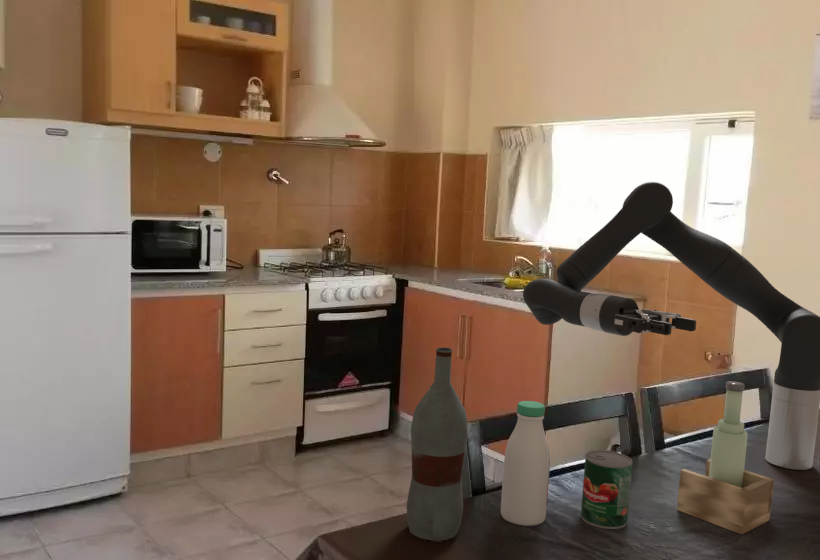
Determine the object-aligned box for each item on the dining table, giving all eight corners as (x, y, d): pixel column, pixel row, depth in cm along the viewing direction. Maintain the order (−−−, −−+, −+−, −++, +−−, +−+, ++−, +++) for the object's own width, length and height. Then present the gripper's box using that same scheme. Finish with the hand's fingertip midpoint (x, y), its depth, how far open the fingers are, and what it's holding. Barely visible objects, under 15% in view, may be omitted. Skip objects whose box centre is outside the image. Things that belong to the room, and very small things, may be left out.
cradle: (676, 510, 141) (680, 470, 140) (706, 497, 148) (710, 459, 147) (741, 534, 132) (746, 492, 131) (769, 520, 139) (774, 479, 138)
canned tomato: (628, 514, 138) (634, 454, 136) (625, 532, 130) (631, 469, 129) (583, 506, 140) (588, 447, 139) (577, 523, 133) (582, 461, 131)
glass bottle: (702, 499, 143) (713, 378, 140) (733, 501, 142) (746, 380, 139) (711, 511, 137) (724, 386, 134) (744, 514, 137) (757, 388, 134)
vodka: (417, 514, 133) (427, 340, 130) (468, 525, 130) (480, 347, 126) (396, 535, 125) (406, 350, 121) (451, 548, 121) (462, 358, 118)
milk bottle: (544, 530, 130) (554, 412, 127) (498, 523, 131) (506, 407, 129) (546, 511, 137) (555, 400, 135) (502, 505, 139) (509, 395, 136)
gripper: (588, 297, 151) (663, 310, 139) (630, 293, 160) (704, 305, 148) (585, 335, 152) (660, 351, 140) (627, 329, 161) (701, 344, 149)
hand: (683, 327), depth 144 cm, fingers open, 8 cm apart
